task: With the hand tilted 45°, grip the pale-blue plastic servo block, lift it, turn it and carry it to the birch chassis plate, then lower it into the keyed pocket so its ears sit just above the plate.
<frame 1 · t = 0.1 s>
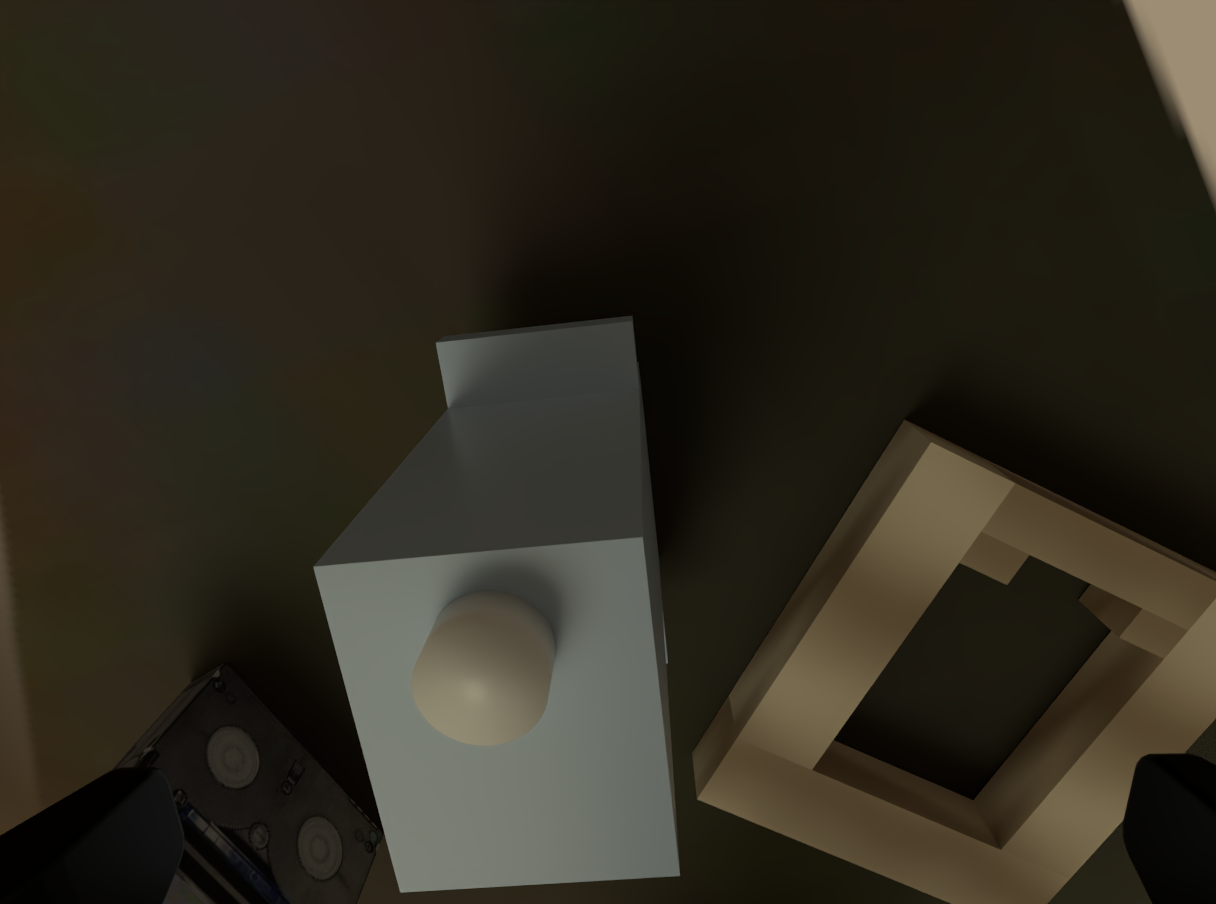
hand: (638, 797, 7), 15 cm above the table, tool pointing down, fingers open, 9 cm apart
servo: (569, 473, 22), on the table
mini dv tape: (293, 755, 26), on the table
chassis plate: (953, 674, 23), on the table
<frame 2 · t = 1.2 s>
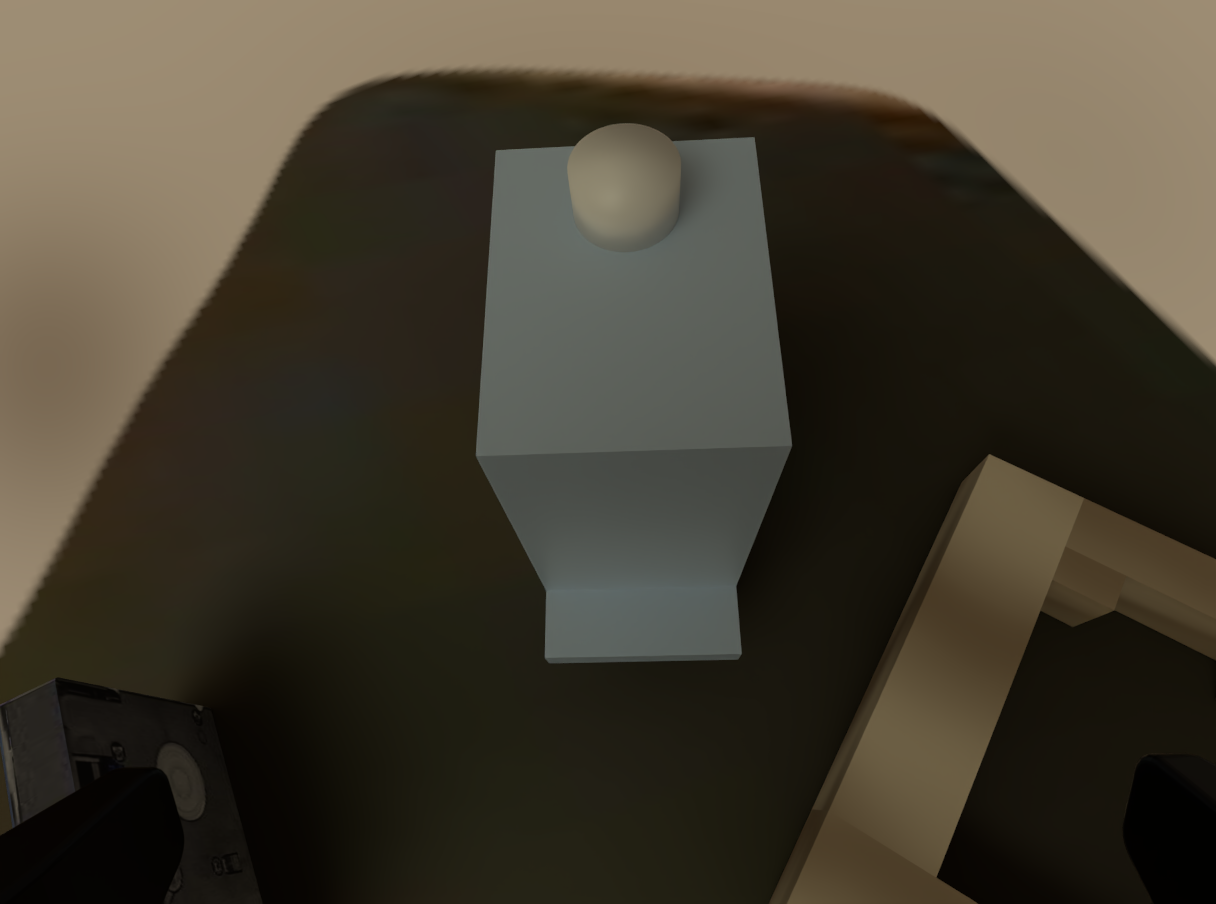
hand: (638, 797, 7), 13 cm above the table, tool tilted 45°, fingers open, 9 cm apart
servo: (639, 512, 22), on the table
mini dv tape: (227, 874, 19), on the table
chassis plate: (1097, 799, 19), on the table
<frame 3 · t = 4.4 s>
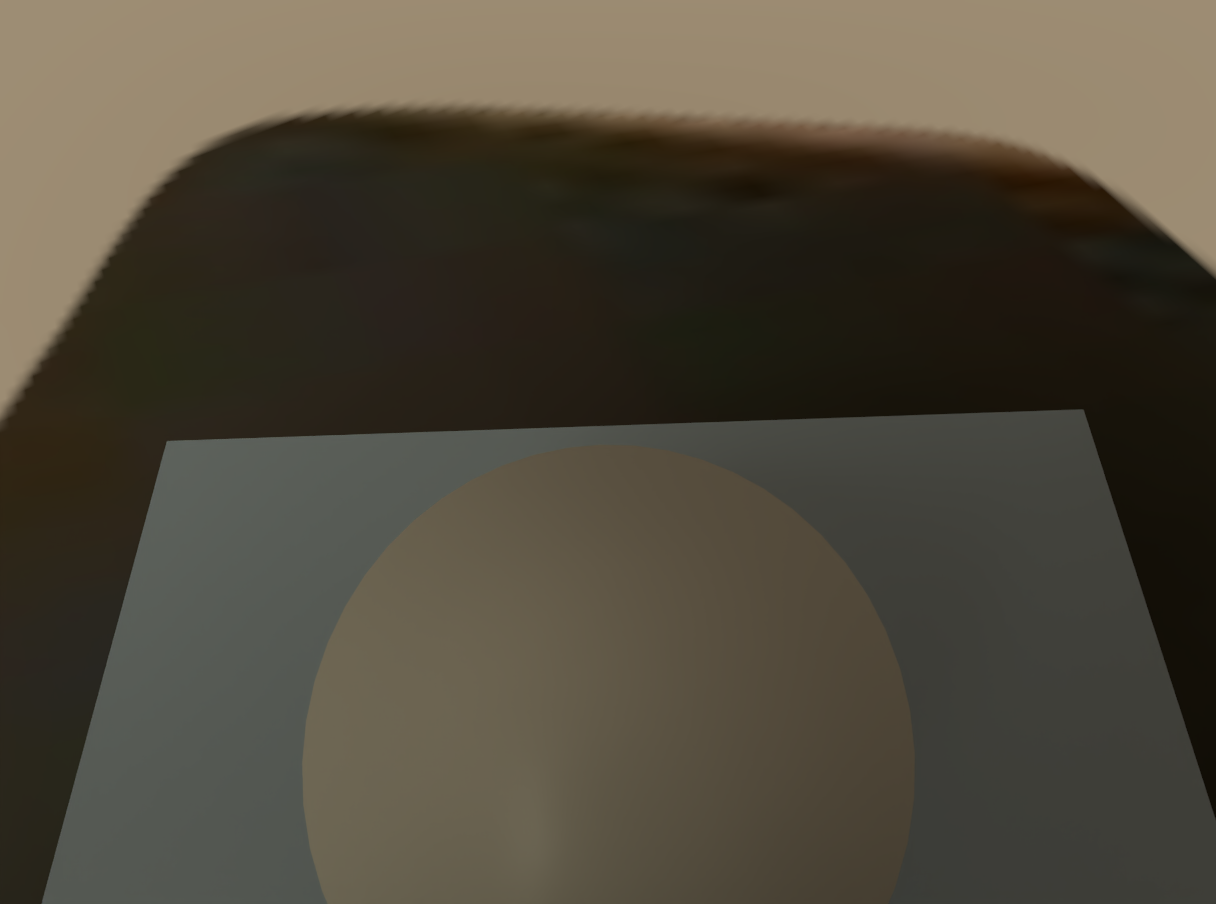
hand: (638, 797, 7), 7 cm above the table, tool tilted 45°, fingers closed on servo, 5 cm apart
servo: (648, 902, 12), on the table, touching gripper
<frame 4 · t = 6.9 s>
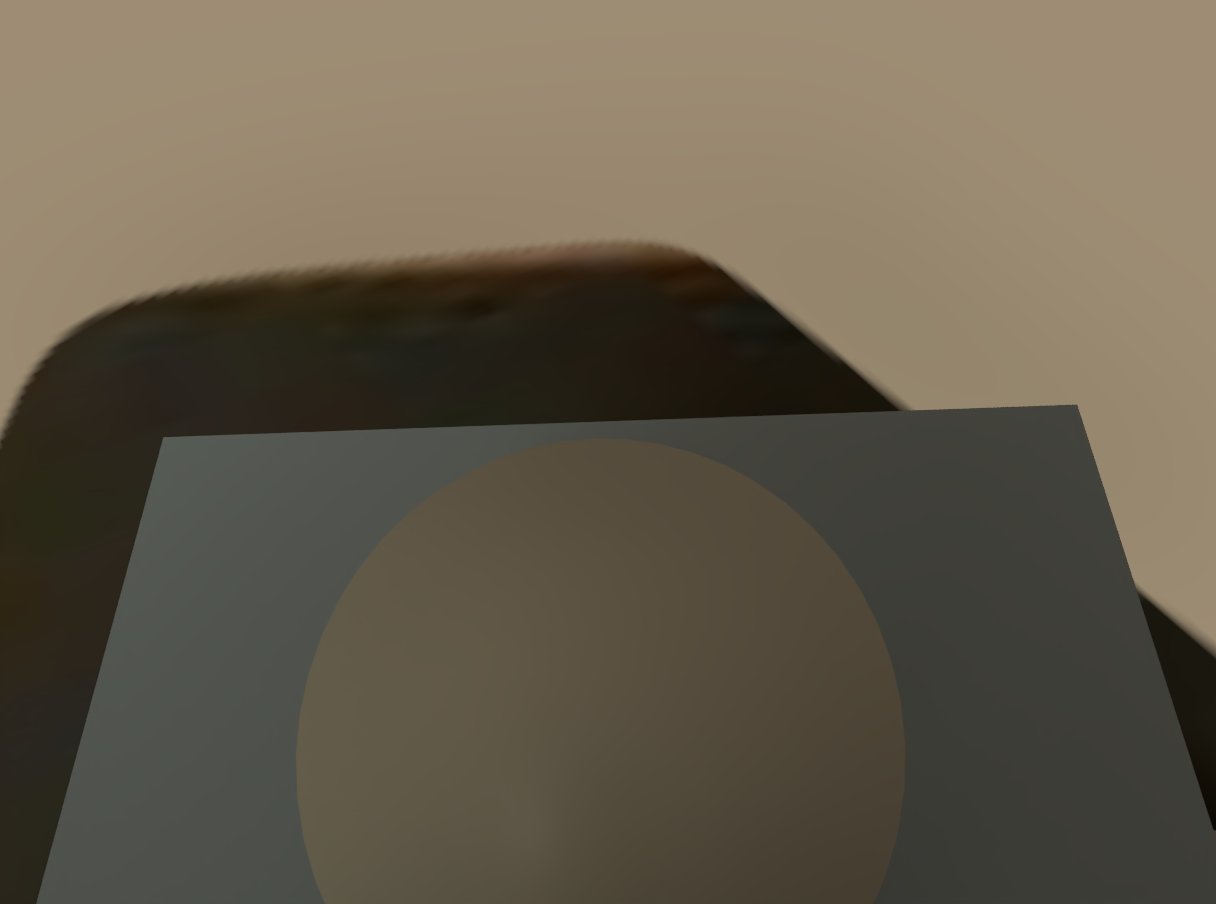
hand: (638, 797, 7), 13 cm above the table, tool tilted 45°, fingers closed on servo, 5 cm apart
servo: (647, 900, 12), point 7 cm above the table, touching gripper
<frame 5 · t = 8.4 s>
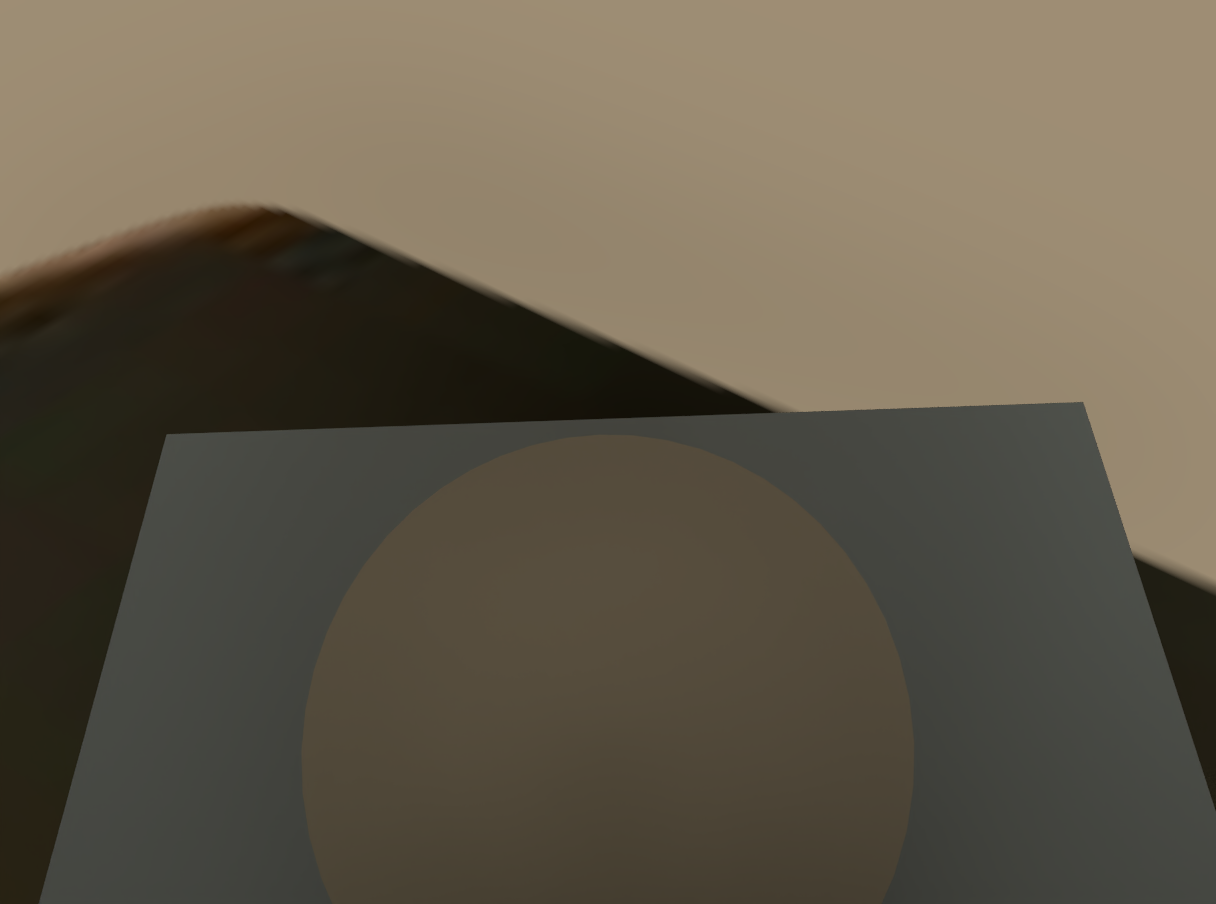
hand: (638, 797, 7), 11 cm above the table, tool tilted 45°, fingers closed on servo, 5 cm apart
servo: (648, 899, 12), point 5 cm above the table, touching gripper
when the fingers open (8 cm above the table, at t = 9.6 s): servo drops 1 cm, resting in chassis plate.
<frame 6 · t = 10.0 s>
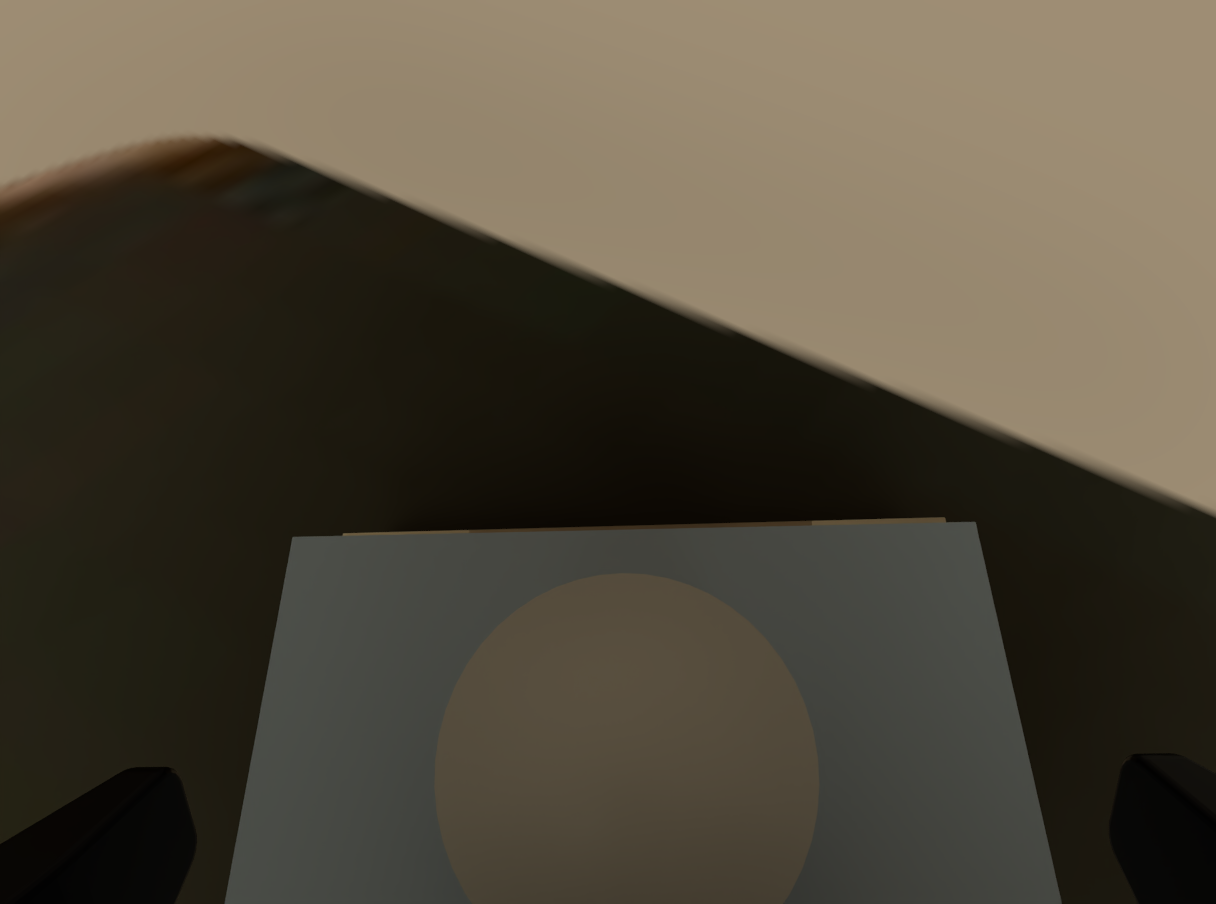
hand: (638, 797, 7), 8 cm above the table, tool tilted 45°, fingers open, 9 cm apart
servo: (649, 894, 14), resting in chassis plate
chassis plate: (649, 892, 14), on the table
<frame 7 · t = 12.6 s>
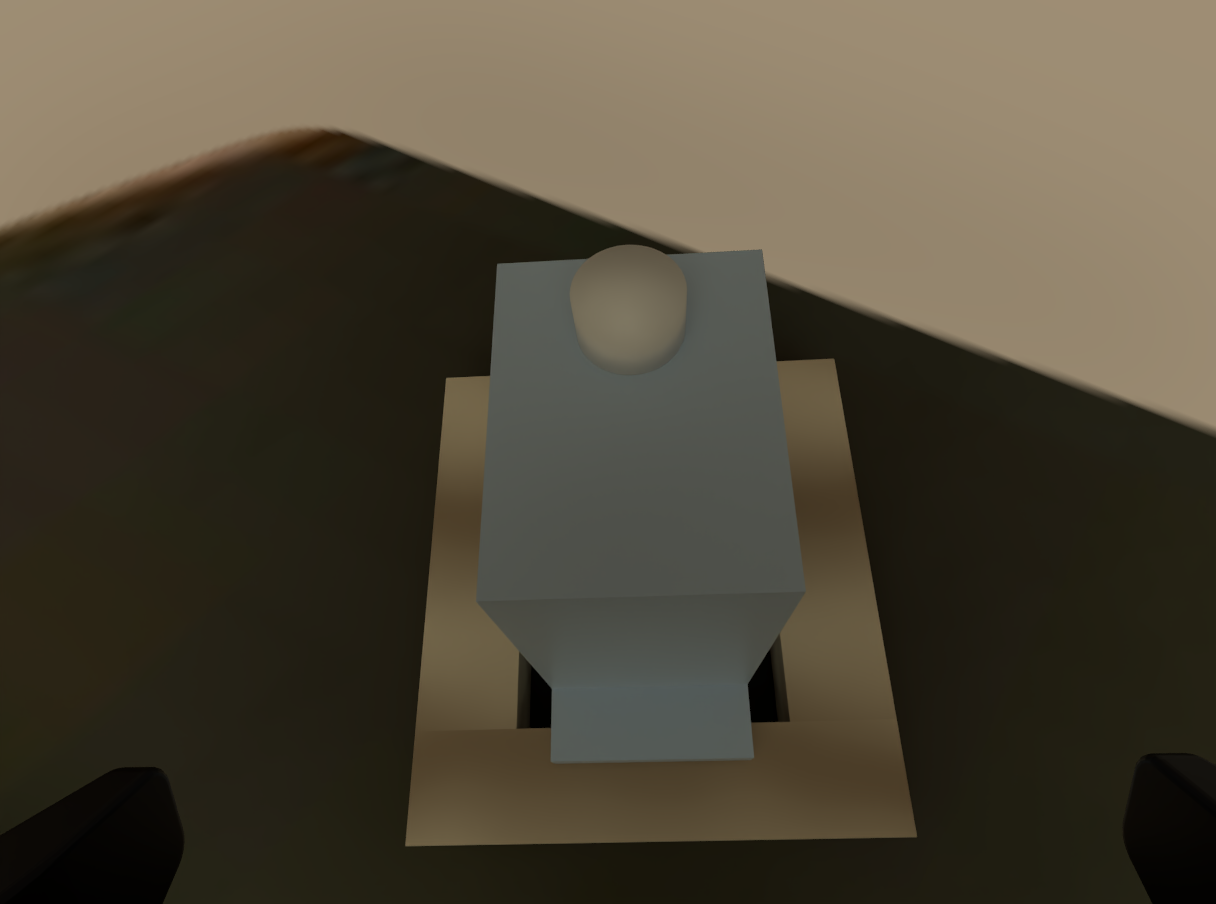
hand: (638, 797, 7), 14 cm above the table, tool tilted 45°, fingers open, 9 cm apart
servo: (647, 593, 22), resting in chassis plate
chassis plate: (647, 592, 22), on the table
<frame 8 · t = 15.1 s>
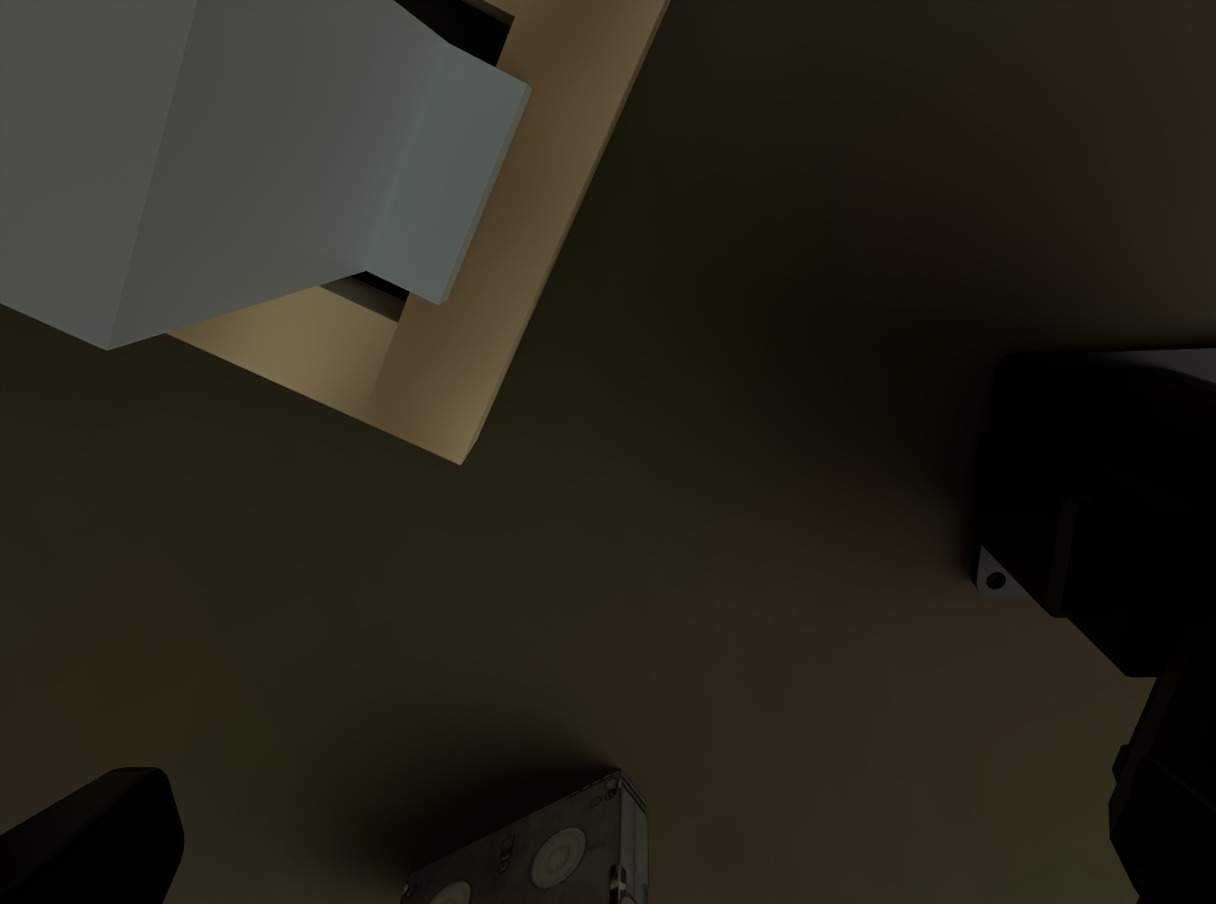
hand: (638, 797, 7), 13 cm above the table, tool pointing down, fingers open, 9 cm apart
servo: (318, 105, 17), resting in chassis plate
mini dv tape: (526, 832, 24), on the table
chassis plate: (317, 104, 17), on the table
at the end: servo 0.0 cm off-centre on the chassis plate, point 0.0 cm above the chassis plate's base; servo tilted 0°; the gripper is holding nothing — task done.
